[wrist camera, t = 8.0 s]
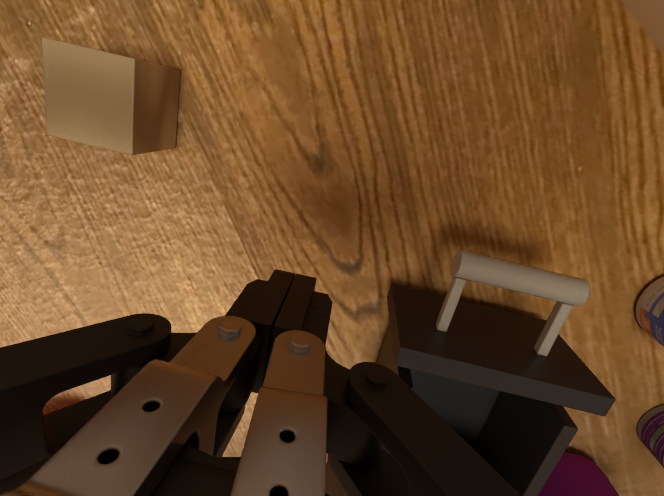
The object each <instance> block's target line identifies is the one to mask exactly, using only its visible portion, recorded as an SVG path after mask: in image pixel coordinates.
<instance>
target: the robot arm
mask: <svg viewBox="0 0 664 496" xmlns="http://www.w3.org/2000/svg"><path fill="white" fill-rule="evenodd" d="M315 284H316V278H314V277H309V276H305V275H300V274H296V276H295V273H290V272H286V271H281V270H276V269H275V270H274V272H273V274H272V275H271V277H270V279H269V280H268V281H264V280H259V279H257V280H255V281H253V282H251V283H249V284H247V285H246V287H245V288H244V290H243V291H242V293H241V294H240V295H239V297H238V299H236V301H235V302H234V304H233V305H232V307H231V308H230V309H229V311H228V312H227V314H226V315H225V316H222V317H217V318H214V319H212V320H210V321H208V322H207V323H206V324H205V325H204V326H203V327H202V328H201V329H200V330H199V331H198V332H197V333H171V324H170V322H169V321H168V320H167V319H166V318H164V317H162V316H159V315H155V314H134V315H130V316H126V317H122V318H118V319H114V320H110V321H106V322H102V323H98V324H94V325H90V326H86V327H82V328H78V329H74V330H70V331H66V332H62V333H58V334H54V335H50V336H46V337H42V338H38V339H34V340H30V341H26V342H22V343H18V344H14V345H10V346H6V347H2V348H0V496H329V495H328V494H327V493H325V475H326V453H328V462H329V465H330V467H331V469H332V471H333V473H334V474H335V476H336V477H337V479H338V480H339V482H340V484H341V485H342V487H343V488H344V490H345V491H346V493H347V495H348V496H521V495H520V494H519V493H518V492H517V491H516V490H515V489H514V488H513V487H512V486H511V485H510V484H509V483H508V482H507V481H506V480H505V479H504V478H503V477H502V476H501V475H500V474H499V473H498V472H497V471H496V470H495V469H494V468H493V467H491V466H490V465H489V464H488V463H487V462H486V461H485V460H484V459H483V458H482V457H481V456H480V455H479V454H478V453H477V452H476V451H475V450H474V449H473V448H472V447H471V446H470V445H469V444H468V443H467V442H466V441H465V440H464V439H463V438H462V437H461V436H460V435H458V434H457V433H456V432H455V431H454V430H453V429H452V428H451V427H450V426H449V425H448V424H447V423H446V422H445V421H444V420H443V419H442V418H441V417H440V416H439V415H438V414H437V413H436V412H435V411H434V410H433V409H432V408H431V407H430V406H429V405H428V404H427V403H425V402H424V401H423V400H422V399H421V398H420V397H419V396H418V395H417V394H416V393H415V392H414V391H413V390H412V389H411V388H410V387H409V386H408V385H407V384H406V383H405V382H404V381H403V380H402V379H401V378H400V377H399V376H398V375H397V374H396V373H394V372H393V371H392V370H390V369H389V368H387V367H385V366H383V365H380V364H377V363H372V362H362V363H358V364H356V365H354V366H353V367H352V368H351V369H347V368H345V367H343V366H341V365H339V364H338V363H336V362H335V361H334V360H333V359H331V357H330V356H329V355H328V353H327V351H326V348H325V343H326V338H327V332H328V326H329V320H330V314H331V308H332V301H331V299H330V297H329V295H328V294H324V293H320V292H315V291H314V289H315ZM109 375H111V390H110V391H108V392H105V393H102V394H100V395H97V396H94V397H92V398H89V399H86V400H84V401H81V402H78V403H76V404H73V405H70V406H68V407H65V408H62V409H60V410H57V411H54V412H52V413H49V414H43V408H44V406H45V404H46V403H47V402H48V401H49V400H50V399H51V398H52V397H53V396H55V395H56V394H58V393H61V392H63V391H66V390H69V389H72V388H74V387H77V386H80V385H83V384H86V383H89V382H92V381H95V380H97V379H100V378H103V377H106V376H109ZM251 392H255V393H258V397H257V400H256V404H255V408H254V411H253V415H252V419H251V422H250V426H249V430H248V433H247V437H246V440H245V444H244V448H243V451H242V455H241V457H222V455H223V453H224V451H225V449H226V447H227V445H228V443H229V441H230V439H231V438H232V436H233V434H234V432H235V430H236V428H237V426H238V424H239V422H240V420H241V418H242V416H243V414H244V410H245V404H246V402H247V400H248V398H249V396H250V393H251ZM384 448H385V449H386V450H387V451H388V452H389V454H390V455H391V456H392V457H393V459H394V460H395V461H396V462H397V464H398V465H399V466H400V467H401V469H402V470H403V471H402V470H401V469H400V467H399V466H398V465H397V464H396V462H395V461H394V460H393V459H392V457H391V456H390V455H389V454H388V453H387V451H386V450H385V449H384Z"/></svg>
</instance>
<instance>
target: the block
mask: <svg viewBox="0 0 664 496" xmlns="http://www.w3.org/2000/svg"><path fill="white" fill-rule="evenodd" d="M42 50H43V68H44V86H45V104H46V122H47V135H49V136H54V137H58V138H62V139H66V140H70V141H75V142H79V143H83V144H87V145H91V146H95V147H100V148H104V149H108V150H112V151H116V152H121V153H125V154H129V155H136V154H142V153H148V152H154V151H160V150H166V149H173V148H175V147H176V132H177V117H178V101H179V86H180V70H179V69H175V68H171V67H167V66H163V65H159V64H155V63H151V62H147V61H143V60H139V59H135V58H130V57H126V56H122V55H118V54H113V53H109V52H105V51H101V50H96V49H92V48H88V47H84V46H80V45H75V44H71V43H67V42H63V41H58V40H54V39H50V38H46V37H42Z"/></svg>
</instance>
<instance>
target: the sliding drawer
mask: <svg viewBox="0 0 664 496" xmlns="http://www.w3.org/2000/svg"><path fill="white" fill-rule="evenodd" d="M451 273H452V275H453V279H452V281H451V284H450V287H449V289H448V292H447V295H446V296H442V295H438V294H434V293H430V292H426V291H422V290H417V289H413V288H409V287H405V286H401V285H397V284H391V286H390V289H389V292H388V295H387V301H388V310H389V319H390V324H389V327H388V330H387V333H386V336H385V339H384V342H383V345H382V348H381V352H380V355H379V358H378V361H377V364H380V365H383V366H385V367H387V368H389V369H390V370H392V371H393V372H394V373H396V374H397V375H398V376H399V377H400V378H401V379H402V380H403V381H404V382H405V383H406V384H407V385H408V386H409V387H410V388H411V389H412V390H413V391H414V392H415V393H416V394H417V395H418V396H419V397H420V398H421V399H422V400H423V401H424V402H425V403H427V404H428V405H429V406H430V407H431V408H432V409H433V410H434V411H435V412H436V413H437V414H438V415H439V416H440V417H441V418H442V419H443V420H444V421H445V422H446V423H447V424H448V425H449V426H450V427H451V428H452V429H453V430H454V431H455V432H456V433H457V434H458V435H460V436H461V437H462V438H463V439H464V440H465V441H466V442H467V443H468V444H469V445H470V446H471V447H472V448H473V449H474V450H475V451H476V452H477V453H478V454H479V455H480V456H481V457H482V458H483V459H484V460H485V461H486V462H487V463H488V464H489V465H490V466H491V467H493V468H494V469H495V470H496V471H497V472H498V473H499V474H500V475H501V476H502V477H503V478H504V479H505V480H506V481H507V482H508V483H509V484H510V485H511V486H512V487H513V488H514V489H515V490H516V491H517V492H518V493H519V494H520V495H521V496H538V494H539V493H540V491H541V489H542V488H543V486H544V484H545V483H546V481H547V479H548V478H549V476H550V475H551V473H552V471H553V470H554V468H555V466H556V465H557V463H558V461H559V460H560V458H561V456H562V455H563V453H564V452H565V450H566V448H567V447H568V445H569V443H570V442H571V440H572V438H573V437H574V435H575V434H576V432H577V430H578V428H577V426H576V425H575V423H574V422H573V420H572V419H571V418H570V416H569V415H568V413H567V412H566V410H565V409H564V407H568V408H573V409H577V410H581V411H585V412H589V413H593V414H597V415H601V416H606V414H607V413H608V411H609V409H610V408H611V406H612V405H613V403H614V401H615V398H614V397H613V396H612V395H611V393H610V392H609V391H608V390H607V389H606V388H605V387H604V385H603V384H602V383H601V382H600V381H599V380H598V379H597V378H596V376H595V375H594V374H593V373H592V372H591V371H590V370H589V368H588V367H587V366H586V365H585V364H584V363H583V362H582V360H581V359H580V358H579V357H578V356H577V355H576V354H575V352H574V351H573V350H572V349H571V348H570V347H569V346H568V344H567V343H566V342H565V341H564V340H563V339H562V338H561V337H560V335H559V332H560V330H561V328H562V326H563V324H564V322H565V320H566V318H567V316H568V314H569V313H570V311H571V309H572V305H576V306H579V305H582V304H584V303H585V302H586V300H587V299H588V297H589V293H590V287H589V284H588V282H587V281H586V280H584V279H580V278H576V277H572V276H568V275H564V274H559V273H555V272H551V271H547V270H543V269H538V268H534V267H530V266H526V265H522V264H518V263H513V262H509V261H505V260H501V259H497V258H492V257H488V256H484V255H480V254H476V253H472V252H467V251H463V250H458V251H457V252H456V254H455V256H454V258H453V261H452V266H451ZM466 279H467V280H472V281H476V282H480V283H484V284H488V285H492V286H497V287H501V288H505V289H509V290H513V291H517V292H522V293H526V294H530V295H534V296H538V297H542V298H547V299H551V300H555V301H557V302H556V304H555V306H554V308H553V310H552V312H551V314H550V316H549V318H548V320H547V321H546V320H542V319H538V318H534V317H530V316H525V315H521V314H517V313H513V312H509V311H505V310H500V309H496V308H492V307H488V306H484V305H480V304H476V303H471V302H467V301H463V300H459V298H460V296H461V293H462V291H463V288H464V285H465V283H466ZM571 304H572V305H571ZM563 406H564V407H563ZM384 449H385V448H384ZM385 450H386V449H385ZM386 451H387V450H386ZM387 453H388V454H389V452H388V451H387ZM389 455H390V454H389ZM390 456H391V455H390ZM391 457H392V456H391ZM392 459H393V457H392ZM393 460H394V459H393ZM394 461H395V460H394ZM395 462H396V461H395ZM396 464H397V462H396ZM397 465H398V464H397ZM398 466H399V465H398ZM399 467H400V466H399ZM400 469H401V467H400ZM401 470H402V469H401ZM402 471H403V470H402Z"/></svg>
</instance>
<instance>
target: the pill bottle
mask: <svg viewBox="0 0 664 496" xmlns="http://www.w3.org/2000/svg"><path fill="white" fill-rule="evenodd" d="M636 317H637V321H638V323H639V325H640V326H641V328H642V329H643V330H644V331H645V332H646V333H648V334H649V335H650V336H651V337H653V338H654V339H655V340H656V341H658V342H659V343H660V344H662V345H663V346H664V276H663V277H661V278H659V279H657V280H656V281H654V282H653V283H652V284H650V285H649V286H648V287H647V288H646V289H645V290H644V291H643V293H642V294H641V296H640V297H639V299H638V302H637V305H636Z"/></svg>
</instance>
